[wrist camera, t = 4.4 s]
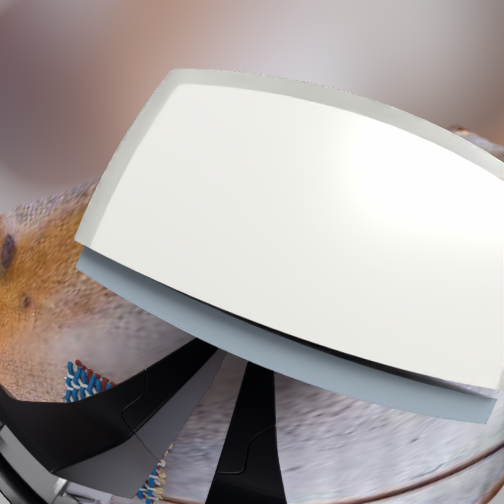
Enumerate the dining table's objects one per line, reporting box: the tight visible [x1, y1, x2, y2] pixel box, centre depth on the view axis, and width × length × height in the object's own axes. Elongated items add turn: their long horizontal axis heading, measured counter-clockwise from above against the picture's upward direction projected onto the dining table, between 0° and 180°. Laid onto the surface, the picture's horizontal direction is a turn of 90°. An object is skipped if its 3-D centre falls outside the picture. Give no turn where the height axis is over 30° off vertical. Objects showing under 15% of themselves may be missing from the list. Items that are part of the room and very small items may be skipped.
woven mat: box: [63, 360, 173, 504], centre depth 16 cm, size 10×11×2 cm
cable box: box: [74, 69, 504, 391], centre depth 11 cm, size 5×10×13 cm, turn 69°
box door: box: [76, 245, 497, 424], centre depth 9 cm, size 1×10×9 cm, turn 67°
